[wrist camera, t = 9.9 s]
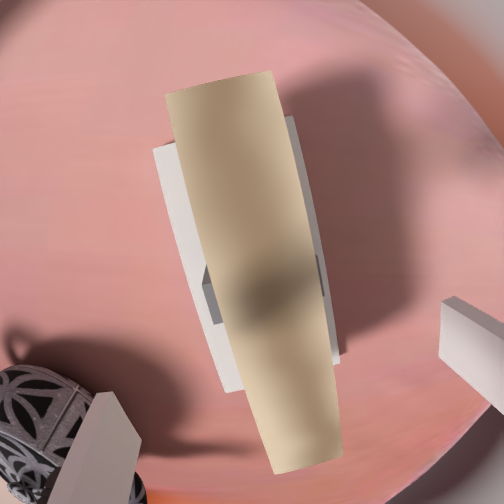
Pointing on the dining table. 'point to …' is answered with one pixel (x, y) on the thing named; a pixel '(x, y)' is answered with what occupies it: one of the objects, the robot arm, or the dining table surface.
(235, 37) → the dining table surface
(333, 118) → the dining table surface
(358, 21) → the dining table surface
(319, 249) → the fulcrum
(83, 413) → the teapot
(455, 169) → the dining table surface
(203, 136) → the wooden beam
